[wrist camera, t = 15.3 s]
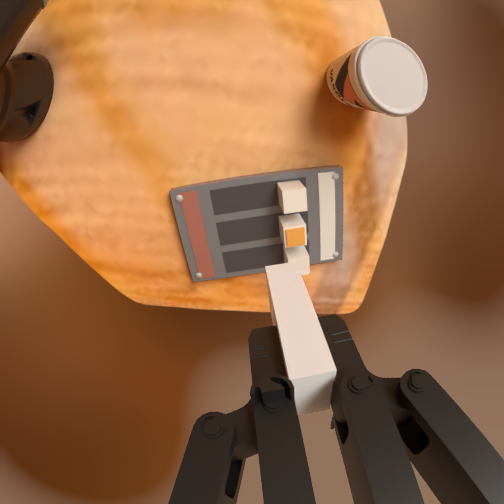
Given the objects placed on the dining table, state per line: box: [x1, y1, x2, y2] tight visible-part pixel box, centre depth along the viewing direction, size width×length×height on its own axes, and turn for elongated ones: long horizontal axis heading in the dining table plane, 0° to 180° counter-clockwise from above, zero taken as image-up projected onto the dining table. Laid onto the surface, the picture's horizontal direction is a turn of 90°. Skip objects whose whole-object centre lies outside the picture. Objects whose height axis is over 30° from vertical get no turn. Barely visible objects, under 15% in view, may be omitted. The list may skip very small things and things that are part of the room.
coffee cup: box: [326, 36, 427, 117], centre depth 26 cm, size 9×9×12 cm
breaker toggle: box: [278, 213, 307, 248], centre depth 38 cm, size 3×3×4 cm
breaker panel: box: [169, 165, 343, 282], centre depth 38 cm, size 24×15×6 cm, turn 97°
